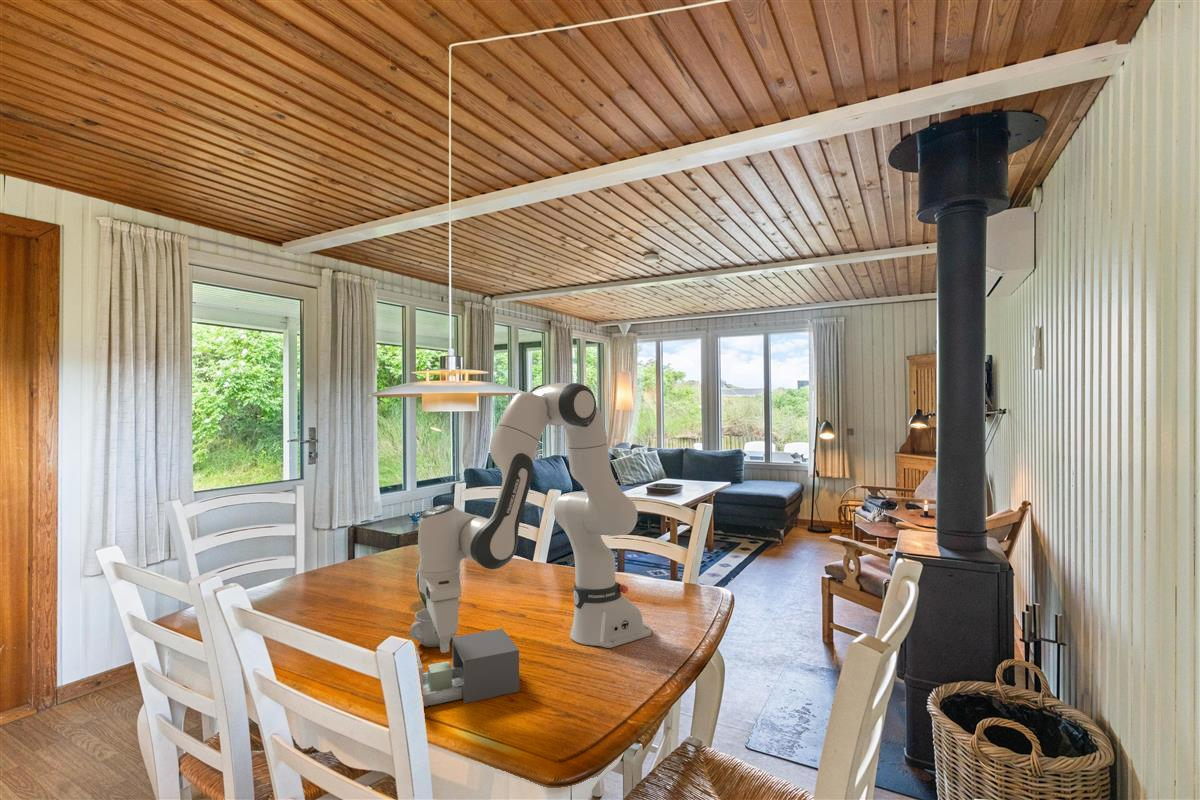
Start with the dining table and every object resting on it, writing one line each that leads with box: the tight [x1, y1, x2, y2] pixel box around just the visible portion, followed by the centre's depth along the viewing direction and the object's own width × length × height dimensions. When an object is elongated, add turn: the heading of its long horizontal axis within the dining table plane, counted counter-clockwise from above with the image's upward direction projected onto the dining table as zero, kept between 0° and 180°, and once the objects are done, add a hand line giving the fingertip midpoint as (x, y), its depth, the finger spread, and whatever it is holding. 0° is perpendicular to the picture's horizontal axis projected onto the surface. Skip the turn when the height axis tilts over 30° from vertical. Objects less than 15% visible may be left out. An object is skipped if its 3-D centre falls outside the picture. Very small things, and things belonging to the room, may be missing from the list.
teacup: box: [409, 607, 454, 648], centre depth 150 cm, size 14×11×8 cm
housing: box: [451, 628, 520, 704], centre depth 128 cm, size 12×14×9 cm
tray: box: [414, 645, 463, 708], centre depth 124 cm, size 12×12×8 cm
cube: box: [427, 660, 452, 692], centre depth 124 cm, size 4×4×4 cm
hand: (441, 643), depth 124 cm, fingers open, 8 cm apart
